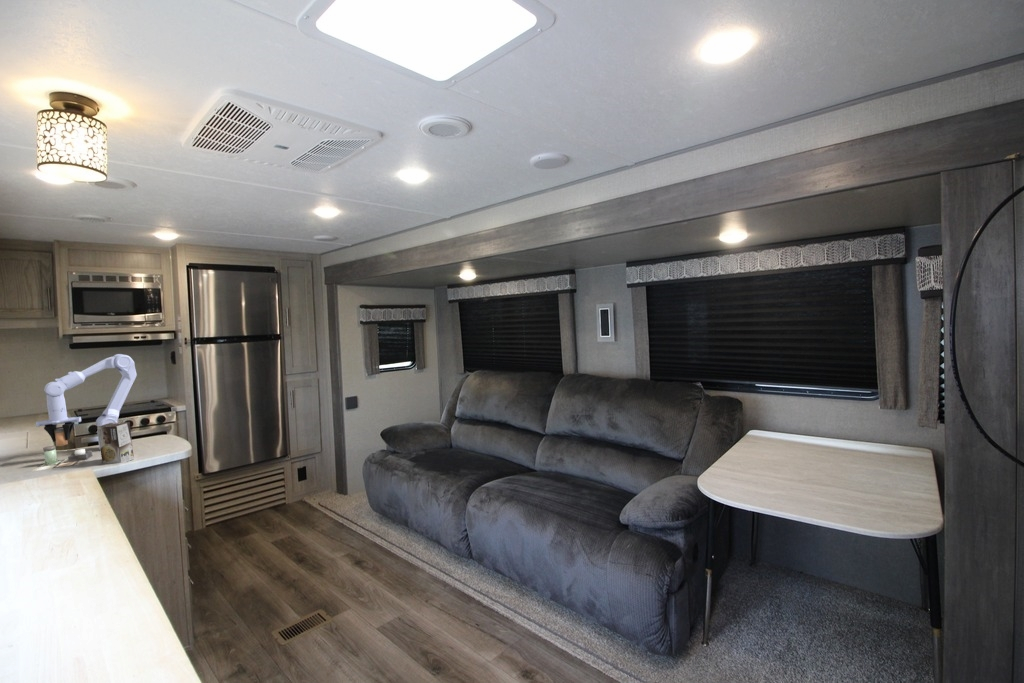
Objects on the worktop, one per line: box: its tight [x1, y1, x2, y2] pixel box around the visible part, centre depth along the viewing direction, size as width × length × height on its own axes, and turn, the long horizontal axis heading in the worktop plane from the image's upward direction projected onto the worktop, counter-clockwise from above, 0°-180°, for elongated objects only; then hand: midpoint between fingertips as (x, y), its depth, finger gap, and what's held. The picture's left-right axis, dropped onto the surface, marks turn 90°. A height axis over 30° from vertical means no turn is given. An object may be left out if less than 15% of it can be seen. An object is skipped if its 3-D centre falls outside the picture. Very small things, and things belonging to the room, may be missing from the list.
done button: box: [73, 448, 86, 455], centre depth 204 cm, size 3×3×3 cm
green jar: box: [42, 445, 58, 465], centre depth 199 cm, size 4×4×7 cm
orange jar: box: [54, 427, 69, 447], centre depth 206 cm, size 4×4×7 cm
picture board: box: [31, 450, 93, 472], centre depth 199 cm, size 16×13×3 cm
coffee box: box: [96, 421, 135, 464], centre depth 200 cm, size 9×6×16 cm
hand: (61, 440), depth 206 cm, fingers closed on orange jar, 4 cm apart
